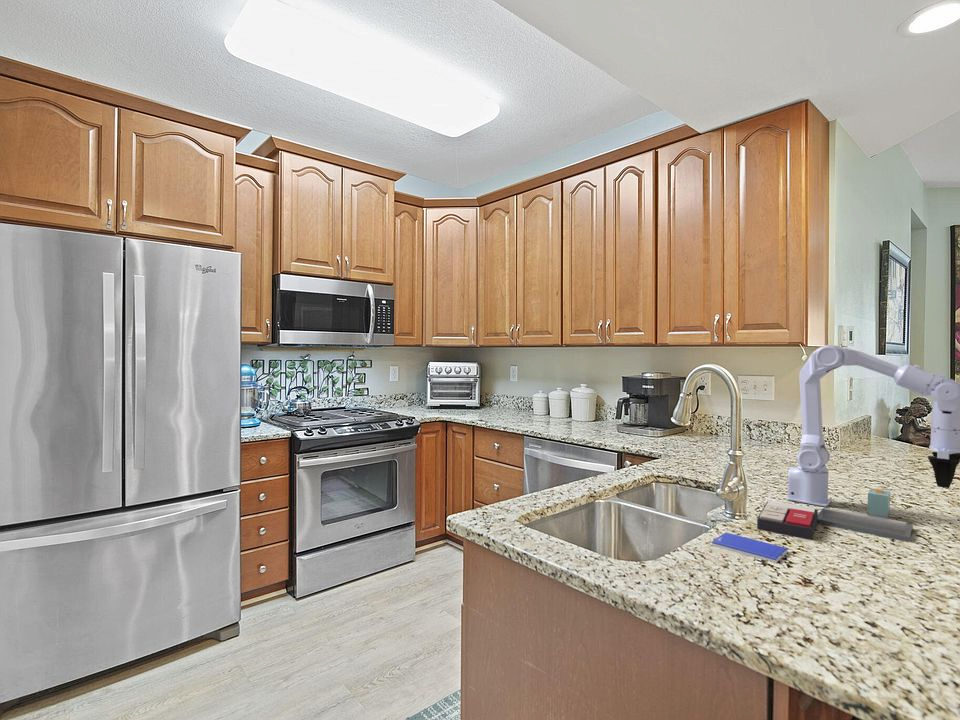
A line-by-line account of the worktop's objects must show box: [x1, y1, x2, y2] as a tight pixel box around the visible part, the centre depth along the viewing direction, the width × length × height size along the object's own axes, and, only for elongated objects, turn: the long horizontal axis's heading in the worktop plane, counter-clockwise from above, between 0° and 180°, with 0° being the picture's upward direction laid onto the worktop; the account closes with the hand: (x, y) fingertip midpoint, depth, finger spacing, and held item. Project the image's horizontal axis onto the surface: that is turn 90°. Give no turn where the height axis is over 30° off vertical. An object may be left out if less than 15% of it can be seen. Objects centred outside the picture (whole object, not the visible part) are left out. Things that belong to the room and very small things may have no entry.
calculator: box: [756, 500, 819, 540], centre depth 123 cm, size 11×4×15 cm
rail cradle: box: [817, 506, 914, 543], centre depth 124 cm, size 18×12×2 cm, turn 47°
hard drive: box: [711, 532, 789, 564], centre depth 108 cm, size 2×8×12 cm
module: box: [866, 487, 891, 519], centre depth 131 cm, size 4×6×7 cm, turn 137°
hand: (944, 484), depth 125 cm, fingers open, 7 cm apart
